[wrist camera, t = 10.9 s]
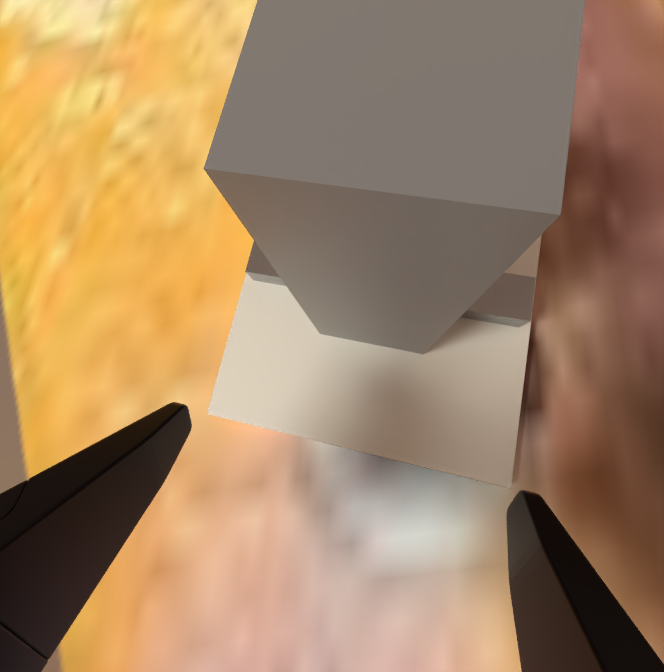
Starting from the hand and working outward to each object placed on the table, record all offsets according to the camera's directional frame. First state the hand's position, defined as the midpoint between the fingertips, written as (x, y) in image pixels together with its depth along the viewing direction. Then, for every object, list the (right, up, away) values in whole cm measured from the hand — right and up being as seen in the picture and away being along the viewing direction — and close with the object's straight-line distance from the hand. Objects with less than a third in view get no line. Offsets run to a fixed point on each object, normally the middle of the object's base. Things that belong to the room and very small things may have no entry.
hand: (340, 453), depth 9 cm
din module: (+2, +6, +8) cm, 10 cm away
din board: (+2, +6, +8) cm, 10 cm away
